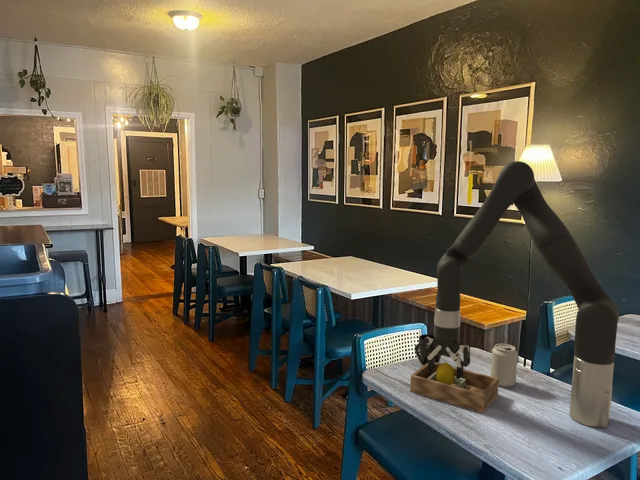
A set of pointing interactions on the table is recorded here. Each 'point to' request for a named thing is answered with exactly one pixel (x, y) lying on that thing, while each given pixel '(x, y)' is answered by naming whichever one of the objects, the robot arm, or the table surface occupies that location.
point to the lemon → (445, 373)
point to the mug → (422, 359)
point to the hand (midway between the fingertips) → (444, 374)
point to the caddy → (457, 388)
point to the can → (504, 364)
